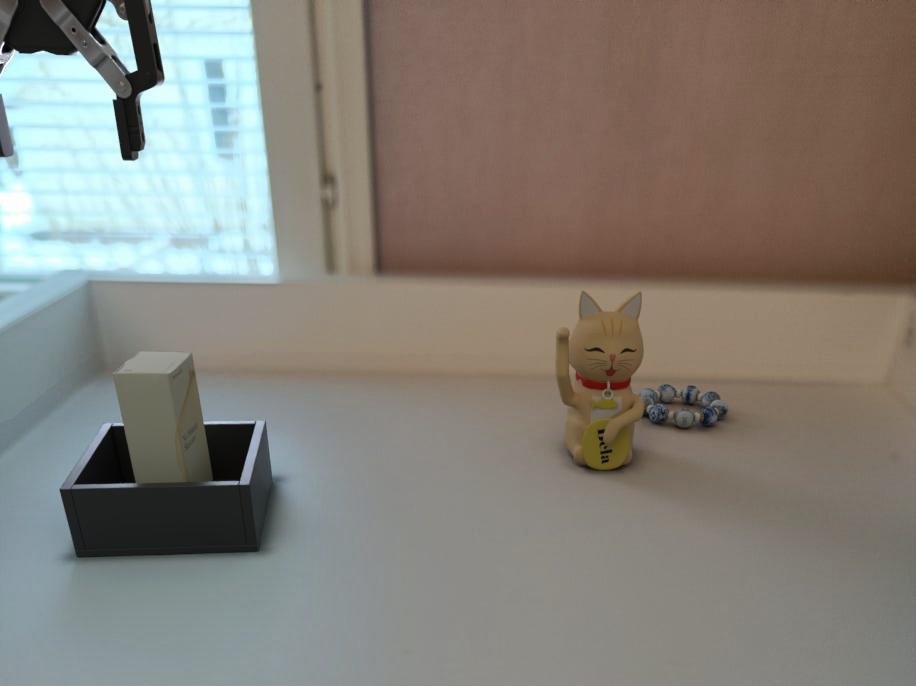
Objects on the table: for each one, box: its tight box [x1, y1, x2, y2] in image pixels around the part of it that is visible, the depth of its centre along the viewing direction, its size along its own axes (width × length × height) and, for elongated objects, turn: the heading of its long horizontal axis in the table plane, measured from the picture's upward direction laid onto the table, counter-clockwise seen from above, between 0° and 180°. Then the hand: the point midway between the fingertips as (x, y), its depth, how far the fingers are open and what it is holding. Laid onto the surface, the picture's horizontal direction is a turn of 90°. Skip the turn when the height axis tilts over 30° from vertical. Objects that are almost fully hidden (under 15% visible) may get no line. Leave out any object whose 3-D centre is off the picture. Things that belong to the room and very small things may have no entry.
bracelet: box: [638, 383, 729, 429], centre depth 98 cm, size 10×10×2 cm
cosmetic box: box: [112, 350, 213, 483], centre depth 72 cm, size 6×4×12 cm
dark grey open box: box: [59, 420, 273, 558], centre depth 74 cm, size 14×14×6 cm
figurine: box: [554, 290, 645, 471], centre depth 84 cm, size 9×10×15 cm
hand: (67, 158), depth 64 cm, fingers open, 8 cm apart
